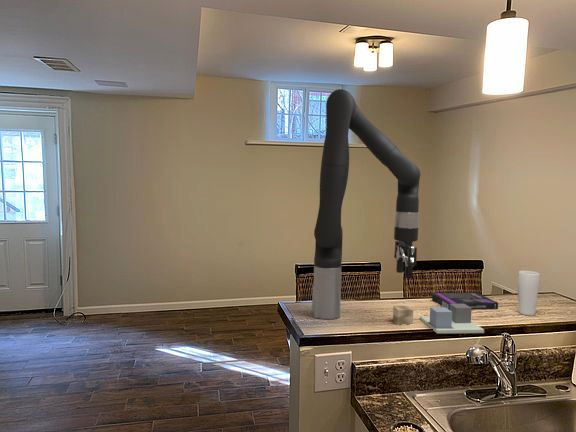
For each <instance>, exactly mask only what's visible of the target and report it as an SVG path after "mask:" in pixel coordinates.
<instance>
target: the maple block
mask: <svg viewBox="0 0 576 432" xmlns="http://www.w3.org/2000/svg"><path fill="white" fill-rule="evenodd" d="M392 308H393V310H392V321H393V320H394V321H395V322H396V323H397V324H406V325H405V326H411V325H410V324H413V325H414V309H413V308H412V307H410V306H409V305H393V307H392ZM394 321H393V322H394ZM395 322H394V323H395ZM396 323H395V324H396ZM397 324H396V325H397Z"/></svg>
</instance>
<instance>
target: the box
mask: <svg viewBox="0 0 576 432" xmlns="http://www.w3.org/2000/svg"><path fill="white" fill-rule="evenodd" d="M431 294H432V295H431V300H432V301H433V302H435V304H437V303H438V304H437V305H439V304H440V305H439V306H441V307H442V306H443V307H446V308H447V309H449V310H450V304H466V305H467V306H469V307H471V308H472V311H475V310H477V311H481V310H485V311H486V310H499V302H498V301H495V300H493V299H491V298H490V297H487V296H485V295H483V294H481V293H479V292H434V293H431Z"/></svg>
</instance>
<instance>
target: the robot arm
mask: <svg viewBox="0 0 576 432" xmlns="http://www.w3.org/2000/svg"><path fill="white" fill-rule="evenodd" d="M325 124H326V125H325V136H324V143H323V148H322V157H321V162H320V163H321V164H320V173H319V174H320V176H319V205H318V206H319V207H318V211H317V217H316V221H315V227H314V231H313V235H314V239H315V246H314V247H315V249H314V259H313V260H314V261H313V265H314V266H313V286H312V297H311V298H312V299H311V305H312V306H311V314H312V316H313V317H314V319H322V320H335V319H339V318H340V317H341V297H342V295H341V293H342V292H341V290H342V289H341V287H342V284H341V283H342V263H343V262H342V260H343V231H344V230H343V227H342V206H343V201H344V198H345V194H346V189H347V184H348V179H349V171H350V170H349V169H350V145H349V130H350V131H351V132H353V133H354V134H355V136H356V137H358V139H359V140H360V141H361V142H362V143H363V144H364V146H366V148H367V149H368V150H369V151H370V152H371V154H372V155H373V156H374V157H375V158H376V159H377V160H378V161H379V162H380V163H381V164H382V165H384V166H385V167H386V168H387V169H388V171H390V173H391V174H392V175H393V176H394V177H395V178H396V179H397V196H396V204H395V215H394V228H393V229H394V230H393V232H394V233H393V239H394V240H395V242H394V254H393V257H394V259H395V261H396V268H395V269H396V270H395V271H396V273H400V274H402V273H404V278H405V279H412V278H413V277H414V276H413V274H414V273H413V272H414V271H413V270H414V269H413V268H414V267H416V266H417V256H418V254H417V253H418V248H417V246H413V244H414V242H417V241H418V239H419V223H420V220H419V219H420V217H419V205H420V203H419V202H420V201H419V190H420V189H419V188H420V179H421V171H420V168H419V167H418V166H417V165H416V163H414V162H413V161H412V160H410V159H409V158H408V157H407V156H406V155H405V154H404V153H403V152H402V151H401V149H399V147H398V146H397V145H396V144H395V143H394V142H393V141H392V140H391V139H390V138H389V137H388V136H387V135H386V134H385V133H383V131H381V130H380V129H379V128H377V127H376V126H375V124H373V123H372V122H371V121H370V120H369V119H368V118H367V117H366V116H365V114H364V113H363V112H362V111H361V109H360V107H359V106H358V104H357V102H356V100H355V98H354V96H353V95H352V94H351V92H349V91H348V90H346V89H341V88H338V89H336V90H333V91H332V92H331V93H330V94H329V95H328V97H327V99H326V103H325ZM404 263H405V264H404ZM404 265H405V266H404ZM404 268H405V269H404Z"/></svg>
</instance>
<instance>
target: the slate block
mask: <svg viewBox="0 0 576 432" xmlns="http://www.w3.org/2000/svg"><path fill="white" fill-rule="evenodd" d="M429 316H430V323H431V324H432V325H433V326H434V327H436V328H452V311H450V310H449V309H447V308H446V307H442V306H441V307H440V306H439V307H435V306H434V307H430V308H429Z"/></svg>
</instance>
